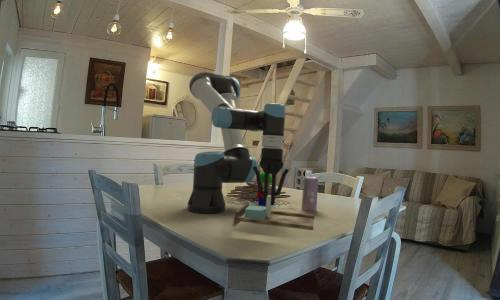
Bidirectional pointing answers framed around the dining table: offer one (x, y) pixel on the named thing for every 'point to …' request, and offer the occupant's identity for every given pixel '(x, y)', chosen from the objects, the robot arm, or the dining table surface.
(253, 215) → the block
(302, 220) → the brown flat frame
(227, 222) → the dining table surface
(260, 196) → the toy
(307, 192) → the beverage can
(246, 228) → the dining table surface
